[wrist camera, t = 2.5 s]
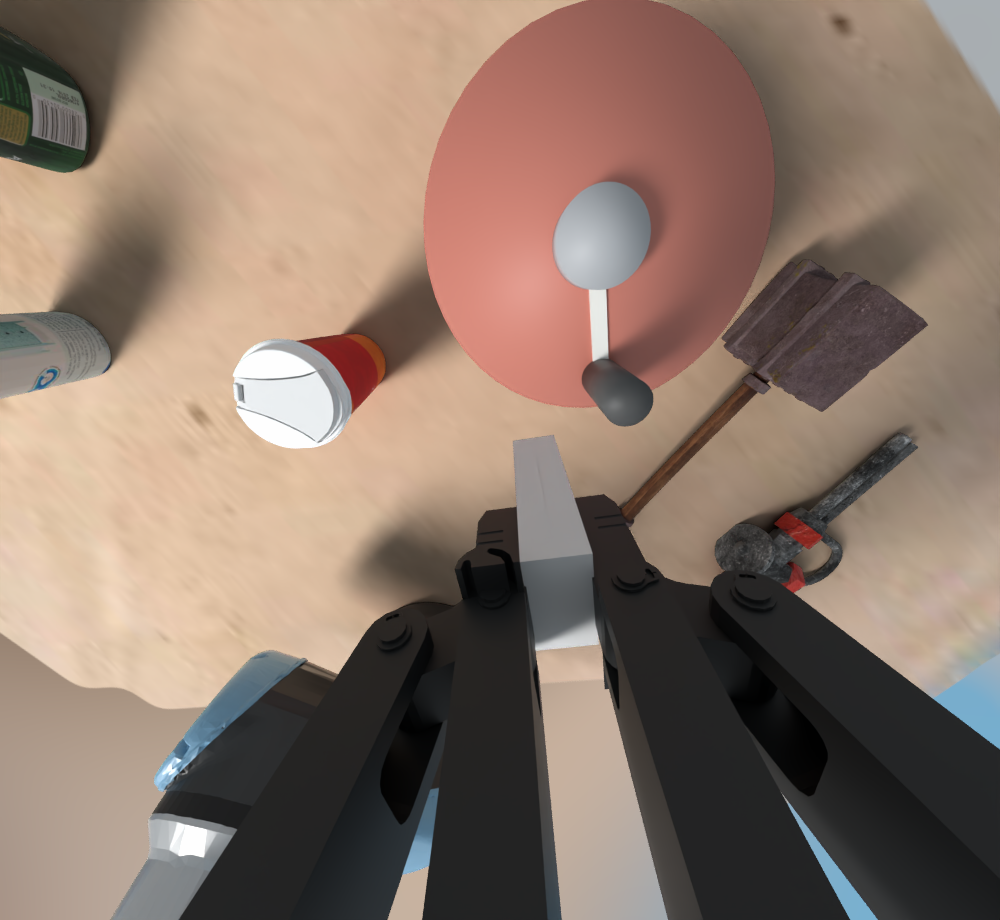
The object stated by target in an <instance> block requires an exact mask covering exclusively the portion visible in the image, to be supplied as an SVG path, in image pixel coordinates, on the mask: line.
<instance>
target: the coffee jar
mask: <svg viewBox="0 0 1000 920" xmlns="http://www.w3.org/2000/svg"><path fill="white" fill-rule="evenodd" d="M89 141H90V122H89V118H88V112H87V108H86V104H85V101H84V98H83V96H82V94H81V91H80V90H79V88H78V86H77V84H76V83H75V82H74V80H73V79H72V78H71V77H70V75H69V74H68V73H67V72H66V71H65V70H64V69H63V68H62V67H60V66H59V65H58V64H57V63H55V62H54V61H53V60H52V59H50V58H49V57H48V56H46V55H45V54H43V53H42V52H40V51H39V50H38V49H36V48H35V47H33V46H32V45H30V44H29V43H27V42H26V41H24V40H22V39H21V38H19V37H17V36H16V35H14V34H12V33H11V32H9V31H7V30H5V29H3V28H2V27H0V157H4V158H8V159H11V160H15V161H19V162H22V163H26V164H29V165H33V166H37V167H41V168H44V169H48V170H52V171H56V172H63V173H66V172H73V171H74V170H76V169H78V168H79V167H80V166H81V165H82V163H83V161H84V159H85V156H86V154H87V151H88V147H89Z"/></svg>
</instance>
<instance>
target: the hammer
mask: <svg viewBox="0 0 1000 920" xmlns="http://www.w3.org/2000/svg"><path fill="white" fill-rule="evenodd" d="M926 326H928V324H927V323H926V322H925V321H924V319H923V318H921V317H920V316H919V315H917V314H916V313H915V312H914V311H913V310H911V309H910V308H909V307H907V306H906V305H905V304H903V303H902V302H901V301H899V300H898V299H897V298H895V297H894V296H893V295H891V294H890V293H888V292H887V291H886V290H884V289H883V288H881V287H880V286H876V285H870V282H869V281H867V280H864V279H862V278H861V277H860V276H858V275H857V274H855V273H846V272H844V274H843V275H842V276H841V277H840V279H839V280H838V279H836V278H835V276H834V275H833V274H831V273H828V272H827V271H825V268H823V267H821V266H819V265H817V264H816V263H814V262H813V261H811V260H805V259H804V260H802V261H801V262H800V263H799V264H798V266H797V265H795V264H794V263H793V262H790V263H789V264H788V265H787V266H786V267H785V268H784V269H783V270H782V271H781V272H780V273H779V274H778V275H777V276H776V277H775V278H774V279H773V280H772V281H771V283H770V284H769V285H768V286H767V287H766V288H765V289H764V290H763V291H762V293H761V294H760V295H759V296H758V297H757V298H756V299H755V300H754V302H753V303H752V304H751V305H750V306H749V307H748V308H747V309H746V311H745V312H744V313H743V314H742V315H741V316H740V317H739V318H738V320H737V321H736V322H735V323H734V324H733V325H732V326H731V327H730V329H729V330H728V331H727V332H726V333H725V334H724V335H723V337H722V340H724V341H725V342H727V343H726V344H725V345H724V347H725V349H726V350H728V351H729V352H730V353H732V354H733V356H734V357H735V358H737V359H739V358H740V359H741V360H743V362H744V363H745V364H747V365H751V366H752V367H753V368H754V370H755V371H756V372H755V373H754V374H752V373H749V374H748V375H747V376H745V377H744V378H743V379H742V380H743V381H744V382H745V383H744V384H743V385H742V386H741V387H740V388H739V389H738V390H737V391H736V392H735V393H734V394H733V395H732V396H731V397H730V398H729V399H728V400H727V401H726V402H725V403H724V404H723V405H722V406H721V407H720V408H719V409H718V410H717V411H716V412H715V413H714V414H713V415H712V416H711V417H710V418H709V419H708V420H707V421H706V422H705V423H704V424H703V425H702V426H701V427H700V428H699V429H698V430H697V431H696V432H695V433H694V434H693V435H692V436H691V437H690V438H689V439H688V440H687V441H686V442H685V443H684V444H683V445H682V446H681V447H680V448H679V449H678V450H677V452H676V453H675V454H674V455H673V456H672V457H671V458H670V459H669V460H668V461H667V462H666V463H665V464H664V465H663V466H662V467H661V468H660V469H659V470H658V471H657V472H656V473H655V474H654V476H653V477H652V478H651V479H650V480H649V481H648V482H647V483H646V484H645V485H644V486H643V487H642V488H641V489H640V490H639V491H638V492H637V494H636V495H635V496H634V497H633V498H632V499H631V500H630V501H629V502H628V503H627V504H626V505H625V506H624V508H623V509H619V510H620V512H621V515H622V516H623V518H624V520H625V522H626V525H627V526H628V528H629V527H631V526H632V524H633V523H634V520H633V518H634V517H635V516H636V515H637V514H638V513H639V512H640V510H641V509H642V508H643V507H644V506H645V505H646V504H647V503H648V502H649V501H650V500H651V499H652V498H653V497H654V496H655V495H656V494H657V493H658V492H659V491H660V490H661V489H662V487H663V486H664V485H665V484H666V483H667V482H668V481H669V480H670V479H671V478H672V477H673V476H674V475H675V474H676V473H677V472H678V471H679V470H680V469H681V468H682V467H683V466H684V465H685V464H686V463H687V462H688V461H689V460H690V459H691V458H692V457H693V456H694V455H695V454H696V453H697V452H698V451H699V450H700V449H701V448H702V447H703V446H704V445H705V444H706V443H707V442H708V441H709V440H710V439H711V438H712V437H713V436H714V435H715V434H716V433H717V432H718V431H719V430H720V429H721V428H722V427H723V426H724V425H725V424H726V423H727V422H728V421H729V420H730V419H731V418H732V417H733V416H734V415H735V414H736V413H737V412H738V411H739V410H740V409H741V408H742V407H743V406H744V405H745V404H746V403H747V402H748V401H749V400H750V399H751V398H752V397H753V396H754V395H755V394H756V393H757V392H759V393H761V394H765V393H766V392H767V391H768V390H769V389H770V388H771V387H770V386H769V385H768V384H767V383H768V382H769V381H771V382H772V383H773V384H774V385H775V386H777V387H781V388H782V389H784V391H785V392H787V393H788V394H792V395H794V396H795V398H797V399H798V400H800V401H803V402H805V403H806V404H808V405H810V406H813V407H814V408H816V409H817V410H819V411H821V412H823V411H824V410H825V409H827V408H828V407H829V406H830V405H832V404H833V403H834V402H835V401H836V400H838V399H839V398H840V397H841V396H843V395H844V394H845V393H846V392H847V391H849V390H850V389H851V388H852V387H854V386H855V385H856V384H857V383H858V382H860V381H861V380H862V379H863V378H864V377H865V376H866V375H867V374H868V373H869V371H870V370H872V369H874V368H876V367H877V366H879V365H880V364H881V363H883V362H884V361H885V360H886V359H887V358H889V357H890V356H891V355H892V354H894V353H895V352H896V351H897V350H898V349H900V348H901V347H902V346H903V345H904V344H906V343H907V342H908V341H909V340H910V339H912V338H913V337H914V336H915V335H917V334H918V333H919V332H920V331H921V330H923V329H924V328H925V327H926Z"/></svg>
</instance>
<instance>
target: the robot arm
mask: <svg viewBox="0 0 1000 920" xmlns="http://www.w3.org/2000/svg"><path fill="white" fill-rule="evenodd" d="M513 450H514V468H515V485H516V503H517V507H513V508H505V509H497V510H489V511H486V512H485V513H484V515H483V516H482V518H481V519H480V520H479V522H478V531H477V540H476V548H475V549H473V550H471V551H469V552H467V553H466V554H465V555H464V556H463V557H462V558H461V559H460V560H459V561H458V563H457V565H456V568H455V572H456V576H457V580H458V583H459V587H460V590H461V594H462V598H463V600H462V601H461V602H459V603H458V604H457V605H455V606H454V607H452V606H448V605H445V604H439V603H417V604H412V605H408V606H405V607H403V608H401V609H397V610H395V611H392V612H390V613H387V614H385V615H384V616H382V617H381V618H379V619H378V620H376V621H375V622H374V623H373V624H372V625H371V627H370V628H369V629H368V630H367V631H366V633H365V634H364V636H363V637H362V639H361V640H360V642H359V643H358V645H357V646H356V648H355V649H354V651H353V652H352V654H351V656H350V657H349V659H348V660H347V662H346V663H345V665H344V666H343V668H342V669H341V671H340V672H339V674H336V673H334V672H331V671H329V670H326V669H324V668H322V667H319V666H317V665H315V664H312V663H310V662H308V660H307V659H305V658H302V659H299V658H296V657H293V656H290V655H287V654H284V653H281V652H278V651H274V650H268V651H264V652H261V653H258V654H257V655H255V656H254V657H252V658H251V659H250V660H249V661H247V662H246V663H245V664H244V665H243V666H242V668H241V669H240V670H239V671H238V672H237V673H236V674H235V675H234V676H233V677H232V678H231V680H230V681H229V682H228V683H227V684H226V685H225V686H224V687H223V689H222V690H221V691H220V692H219V693H218V694H217V696H216V697H215V698H214V699H213V700H212V701H211V703H210V704H209V705H208V706H207V707H206V709H205V710H204V711H203V713H202V714H201V715H200V716H199V717H198V719H197V720H196V721H195V722H194V723H193V725H192V726H191V727H190V729H189V730H188V731H187V732H186V734H185V735H184V738H183V739H182V740H181V741H180V742H179V743H178V745H177V746H176V748H175V749H174V750H173V751H172V752H171V754H170V755H169V756H168V757H167V758H166V760H165V761H164V763H163V764H162V766H161V767H160V769H159V770H158V772H157V773H156V775H155V778H154V783H155V785H156V786H157V787H158V790H159V791H162V792H163V791H164V790H167V791H166V793H165V795H164V796H163V798H162V799H161V801H160V802H159V804H158V805H157V807H156V808H155V810H154V812H153V813H152V815H151V816H150V818H149V819H148V829H149V843H150V849H149V855H148V859H147V861H146V862H145V864H144V866H143V867H142V869H141V870H140V872H139V874H138V876H137V877H136V879H135V880H134V882H133V883H132V885H131V887H130V889H129V890H128V892H127V893H126V895H125V896H124V898H123V900H122V901H121V903H120V904H119V906H118V908H117V909H116V911H115V913H114V914H113V916H112V917H111V919H110V920H387V919H388V916H389V913H390V910H391V907H392V904H393V901H394V898H395V895H396V892H397V889H398V886H399V883H400V880H401V877H402V875H403V874H407V873H411V872H414V871H417V870H420V869H423V868H425V867H427V866H429V870H428V879H427V886H426V894H425V902H424V910H423V918H422V920H562V918H561V907H560V897H559V886H558V875H557V864H556V853H555V842H554V832H553V821H552V810H551V799H550V789H549V778H548V769H547V768H548V767H547V756H546V745H545V734H544V724H543V713H542V702H541V691H540V680H539V671H538V666H537V660H536V651H538V650H548V649H558V648H568V647H578V646H588V645H598V644H599V643H598V636H599V640H600V644H601V647H602V651H603V667H604V682H605V689H609V690H610V694H611V698H612V702H613V706H614V710H615V714H616V718H617V722H618V725H619V729H620V734H621V737H622V741H623V745H624V749H625V753H626V757H627V761H628V765H629V769H630V772H631V777H632V780H633V784H634V788H635V792H636V796H637V800H638V804H639V808H640V812H641V815H642V819H643V823H644V827H645V831H646V835H647V839H648V843H649V847H650V851H651V855H652V858H653V862H654V866H655V870H656V874H657V878H658V882H659V886H660V890H661V894H662V897H663V901H664V905H665V909H666V913H667V917H668V920H850V919H849V917H848V915H847V913H846V911H845V910H844V908H843V906H842V904H841V902H840V900H839V899H838V897H837V895H836V893H835V891H834V889H833V888H832V886H831V884H830V882H829V880H828V878H827V877H826V875H825V873H824V871H823V869H822V867H821V865H820V864H819V862H818V860H817V858H816V856H815V854H814V852H813V851H812V849H811V847H810V845H809V843H808V841H807V840H806V838H805V836H804V834H803V832H802V830H801V829H800V827H799V825H798V823H797V821H796V819H795V817H794V816H793V814H792V812H791V810H790V808H789V806H788V804H787V803H786V801H785V799H784V797H783V795H784V796H785V798H786V799H787V800H788V802H789V803H790V804H791V806H792V807H793V808H794V810H795V811H796V812H797V814H798V815H799V816H800V818H801V819H802V820H803V821H804V823H805V824H806V825H807V827H808V828H809V829H810V831H811V832H812V833H813V835H814V836H815V837H816V839H817V840H818V841H819V842H820V844H821V845H822V847H823V848H824V849H825V850H826V852H827V853H828V854H829V856H830V857H831V858H832V860H833V861H834V862H835V864H836V865H837V866H838V867H839V869H840V870H841V871H842V873H843V874H844V875H845V877H846V878H847V879H848V881H849V882H850V883H851V885H852V886H853V887H854V889H855V890H856V891H857V893H858V894H859V895H860V896H861V898H862V899H863V901H864V902H865V903H866V904H867V906H868V907H869V908H870V910H871V911H872V912H873V914H874V915H875V916H876V918H877V919H878V920H1000V749H998V748H997V747H996V746H994V745H993V744H992V743H990V742H989V741H987V740H986V739H985V738H984V737H982V736H981V735H980V734H979V733H977V732H976V731H974V730H973V729H972V728H971V727H969V726H968V725H967V724H965V723H964V722H963V721H961V720H960V719H959V718H957V717H956V716H955V715H954V714H952V713H951V712H950V711H948V710H947V709H946V708H944V707H943V706H942V705H940V704H939V703H938V702H936V701H935V700H934V699H932V698H931V697H930V696H928V695H927V694H926V693H925V692H923V691H922V690H921V689H919V688H918V687H917V686H915V685H914V684H913V683H911V682H910V681H909V680H907V679H906V678H905V677H903V676H902V675H901V674H899V673H898V672H897V671H896V670H894V669H893V668H892V667H890V666H889V665H888V664H886V663H885V662H884V661H882V660H881V659H880V658H878V657H877V656H876V655H874V654H873V653H872V652H870V651H869V650H868V649H867V648H865V647H864V646H863V645H861V644H860V643H859V642H857V641H856V640H855V639H853V638H852V637H851V636H849V635H848V634H847V633H845V632H844V631H843V630H841V629H840V628H839V627H838V626H836V625H835V624H834V623H832V622H831V621H830V620H828V619H827V618H826V617H824V616H823V615H822V614H820V613H819V612H818V611H816V610H815V609H814V608H812V607H811V606H810V605H809V604H807V603H806V602H805V601H803V600H802V599H801V598H799V597H798V596H797V595H795V594H794V593H793V592H791V591H790V590H789V589H787V588H786V587H785V586H783V585H782V584H780V583H779V582H777V581H775V580H773V579H772V578H770V577H768V576H765V575H762V574H759V573H756V572H753V571H744V570H732V571H725V572H723V573H721V574H719V575H718V576H716V577H715V578H714V580H713V582H712V584H711V587H708V586H701V585H693V584H685V583H681V582H676V581H673V580H670V579H667V578H665V577H664V576H663V575H662V574H661V572H660V571H659V570H658V569H657V568H656V567H654V566H653V565H651V564H649V563H647V562H646V561H645V559H644V557H643V555H642V553H641V551H640V549H639V547H638V545H637V543H636V542H635V540H634V538H633V536H632V534H631V532H630V530H629V528H628V526H627V525H626V522H625V520H624V518H623V516H622V515H621V512H620V510H619V508H618V506H617V504H616V503H615V502H614V501H612V500H611V499H610V498H608V497H607V496H605V495H604V494H603V495H595V496H588V497H580V498H574V495H573V492H572V489H571V486H570V483H569V480H568V477H567V474H566V471H565V468H564V465H563V462H562V459H561V456H560V453H559V450H558V447H557V444H556V441H555V438H554V435H550V436H543V437H536V438H529V439H522V440H515V441H513ZM780 791H781V792H780ZM782 794H783V795H782Z"/></svg>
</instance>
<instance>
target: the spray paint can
mask: <svg viewBox="0 0 1000 920" xmlns="http://www.w3.org/2000/svg"><path fill="white" fill-rule="evenodd" d="M110 362H111V353H110V350H109V347H108V344H107V342H106V341H105V339H104V337H103V336H102V335H101V333H100V332H99V331H98V330H97V329H96V328H95V327H94V326H93V325H92V324H90V323H89V322H88V321H86V320H84V319H83V318H81V317H79V316H76V315H74V314H71V313H64V312H39V313H19V314H0V399H1V398H6V397H10V396H14V395H19V394H23V393H27V392H32V391H36V390H40V389H45V388H49V387H53V386H58V385H62V384H66V383H71V382H75V381H79V380H84V379H88V378H92V377H96V376H98V375H100V374H102V373H104V372H105V371H106V370H107V369H108V368H109V366H110Z"/></svg>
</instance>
